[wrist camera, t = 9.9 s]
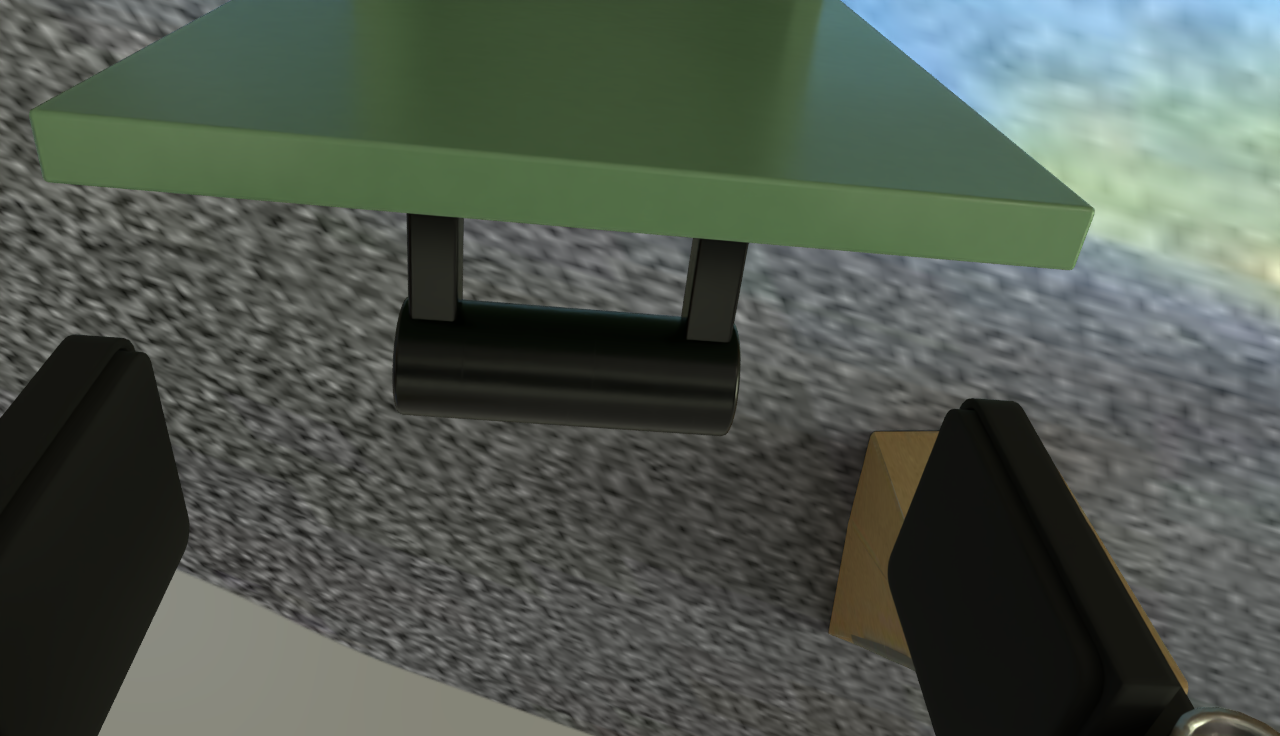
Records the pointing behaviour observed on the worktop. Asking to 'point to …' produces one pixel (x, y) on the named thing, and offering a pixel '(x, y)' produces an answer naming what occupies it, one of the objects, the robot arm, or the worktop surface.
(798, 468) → the worktop surface
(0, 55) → the worktop surface
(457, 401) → the bin lid
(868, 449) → the sandwich container
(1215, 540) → the worktop surface
